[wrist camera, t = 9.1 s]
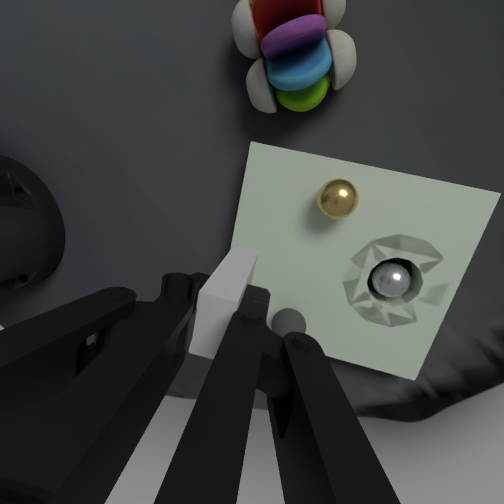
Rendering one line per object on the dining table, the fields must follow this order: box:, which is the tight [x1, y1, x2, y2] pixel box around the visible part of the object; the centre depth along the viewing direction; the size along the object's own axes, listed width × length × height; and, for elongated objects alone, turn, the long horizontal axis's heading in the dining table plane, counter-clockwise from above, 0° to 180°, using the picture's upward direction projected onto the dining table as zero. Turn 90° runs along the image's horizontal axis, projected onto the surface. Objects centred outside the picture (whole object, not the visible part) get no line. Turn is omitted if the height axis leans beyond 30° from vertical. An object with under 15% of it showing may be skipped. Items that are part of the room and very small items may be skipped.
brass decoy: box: [317, 178, 359, 220], centre depth 23 cm, size 3×3×3 cm
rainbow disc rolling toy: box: [231, 0, 356, 113], centre depth 21 cm, size 8×10×7 cm
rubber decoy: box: [271, 308, 306, 337], centre depth 26 cm, size 3×3×3 cm
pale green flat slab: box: [230, 142, 501, 380], centre depth 27 cm, size 20×18×2 cm
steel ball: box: [372, 262, 411, 298], centre depth 26 cm, size 3×3×3 cm
